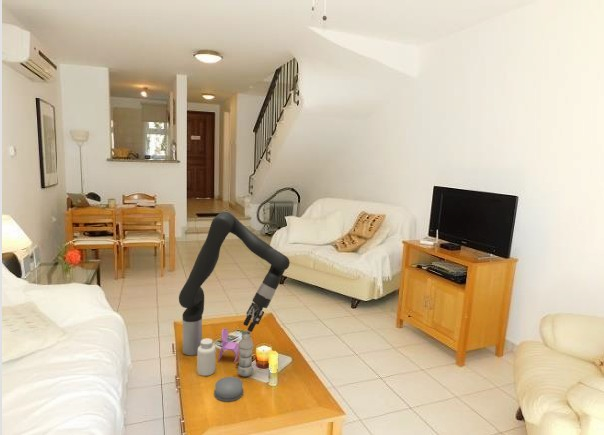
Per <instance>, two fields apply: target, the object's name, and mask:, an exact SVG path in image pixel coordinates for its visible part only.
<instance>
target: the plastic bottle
mask: <svg viewBox="0 0 604 435" xmlns="http://www.w3.org/2000/svg"><path fill="white" fill-rule="evenodd" d="M251 337H252V336H251V332H250V331H248V330H246V331H243V332H241V339H240V340H239V342H238V346H239V353H238V356H239V359H238V366H237V373H238V375H239V376H240V377H243V378H244V377H245V378H247V377H250V376H251V375H252V373H253V371H254V368H253V367H254V366H253V359H252V358H253V357H252V356H253V348H254V342H253V340H252V339H251Z"/></svg>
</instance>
